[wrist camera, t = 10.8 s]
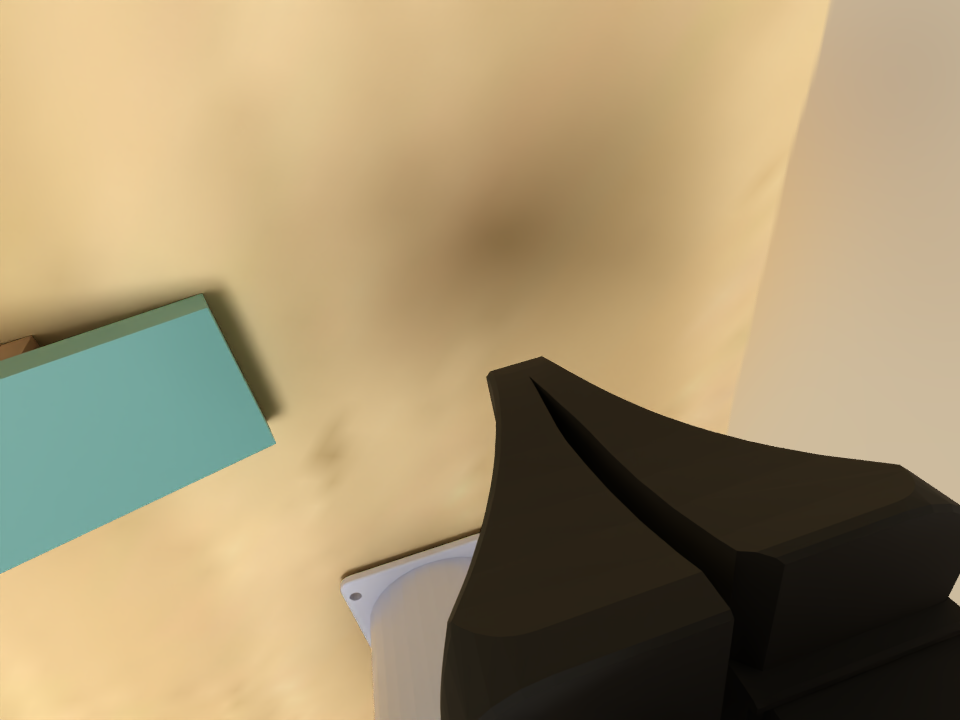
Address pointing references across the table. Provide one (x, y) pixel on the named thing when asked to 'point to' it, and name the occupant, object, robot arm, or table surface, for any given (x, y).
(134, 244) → the table surface
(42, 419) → the teal domino
